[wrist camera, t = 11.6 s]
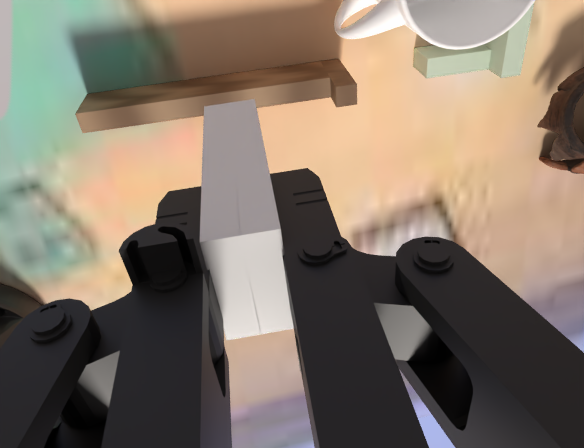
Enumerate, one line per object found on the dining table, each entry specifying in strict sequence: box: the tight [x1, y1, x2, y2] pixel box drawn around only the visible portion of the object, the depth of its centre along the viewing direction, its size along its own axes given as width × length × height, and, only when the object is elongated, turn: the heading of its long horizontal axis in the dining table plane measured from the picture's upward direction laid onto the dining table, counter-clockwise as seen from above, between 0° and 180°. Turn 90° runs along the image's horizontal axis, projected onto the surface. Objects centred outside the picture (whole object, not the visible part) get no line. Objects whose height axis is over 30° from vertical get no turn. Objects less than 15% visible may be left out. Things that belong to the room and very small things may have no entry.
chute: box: [76, 59, 357, 133], centre depth 31 cm, size 20×15×6 cm
